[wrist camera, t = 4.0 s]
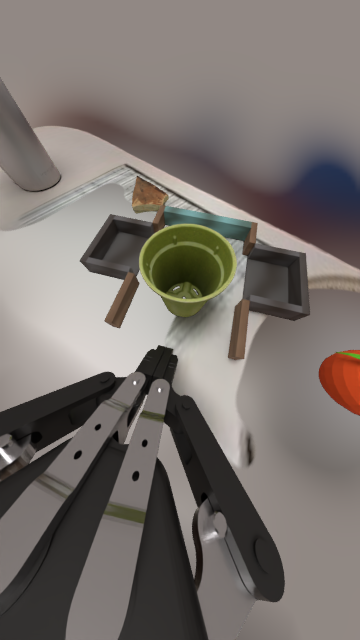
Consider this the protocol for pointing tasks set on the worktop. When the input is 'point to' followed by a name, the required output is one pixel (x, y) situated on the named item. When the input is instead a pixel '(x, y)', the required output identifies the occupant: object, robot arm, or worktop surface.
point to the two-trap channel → (263, 261)
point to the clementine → (342, 378)
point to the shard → (147, 197)
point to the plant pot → (187, 266)
